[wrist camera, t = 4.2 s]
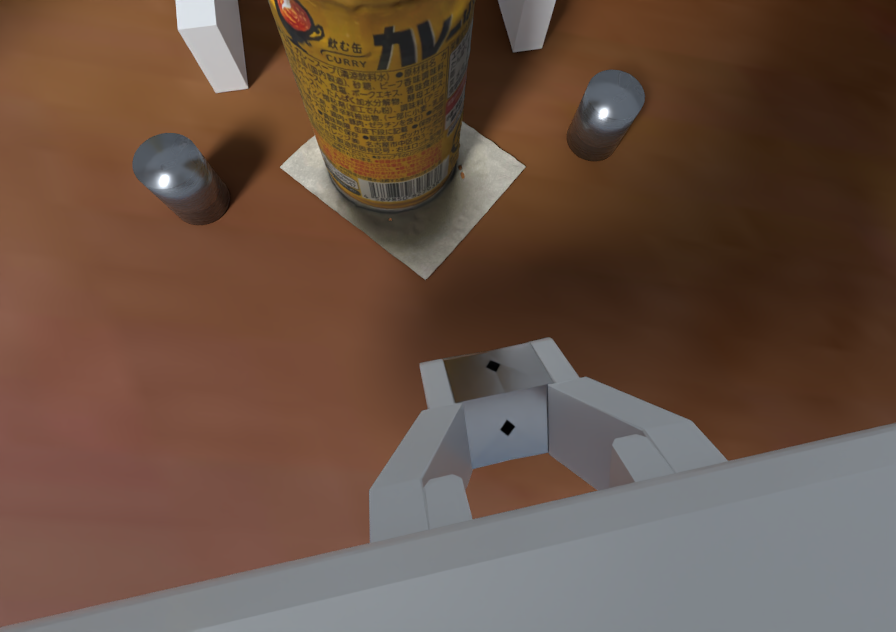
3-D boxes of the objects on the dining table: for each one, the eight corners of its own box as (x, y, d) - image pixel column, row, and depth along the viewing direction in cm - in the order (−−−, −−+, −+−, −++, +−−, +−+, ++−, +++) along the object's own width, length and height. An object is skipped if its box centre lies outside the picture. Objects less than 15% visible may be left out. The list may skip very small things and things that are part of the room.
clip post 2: (556, 141, 22) (576, 96, 19) (584, 108, 23) (607, 60, 20) (598, 170, 22) (625, 128, 19) (626, 136, 22) (655, 91, 20)
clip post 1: (162, 203, 20) (118, 163, 18) (202, 166, 21) (167, 122, 18) (201, 235, 20) (163, 200, 17) (241, 196, 21) (211, 156, 18)
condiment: (386, 69, 23) (346, -311, 11) (525, 168, 22) (637, -141, 10) (280, 170, 21) (108, -156, 10) (425, 282, 20) (425, 67, 9)
